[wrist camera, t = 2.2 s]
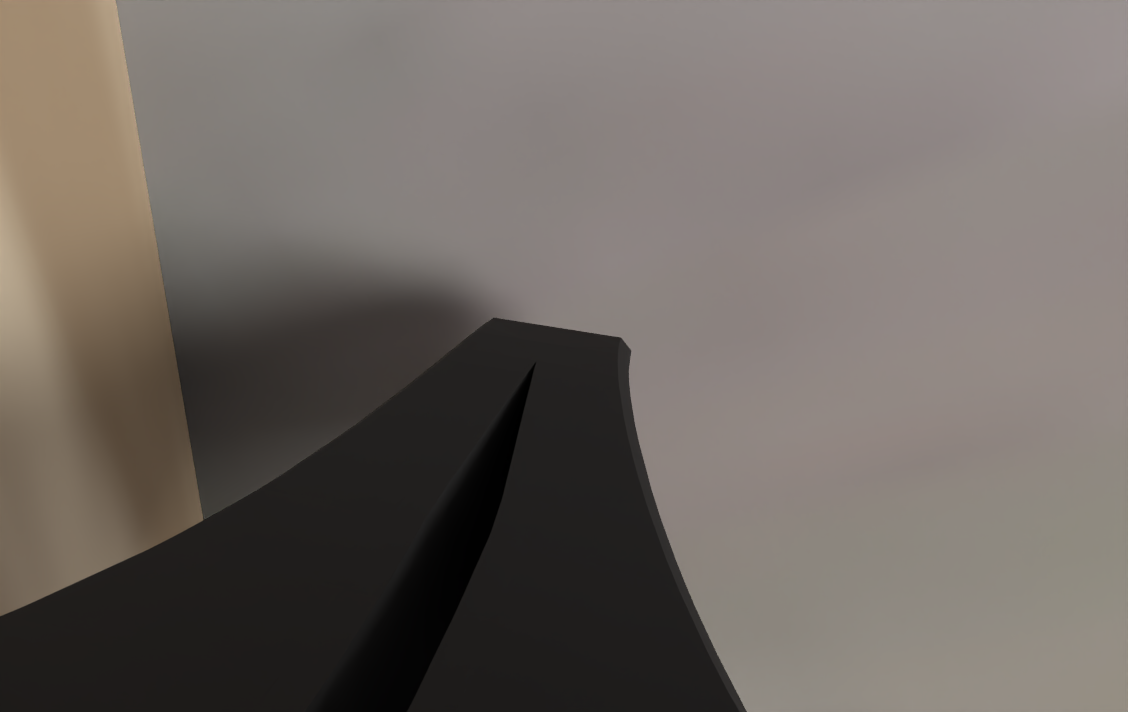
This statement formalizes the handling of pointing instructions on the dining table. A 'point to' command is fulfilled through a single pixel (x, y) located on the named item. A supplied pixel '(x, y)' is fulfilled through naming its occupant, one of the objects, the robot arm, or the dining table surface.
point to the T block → (80, 313)
